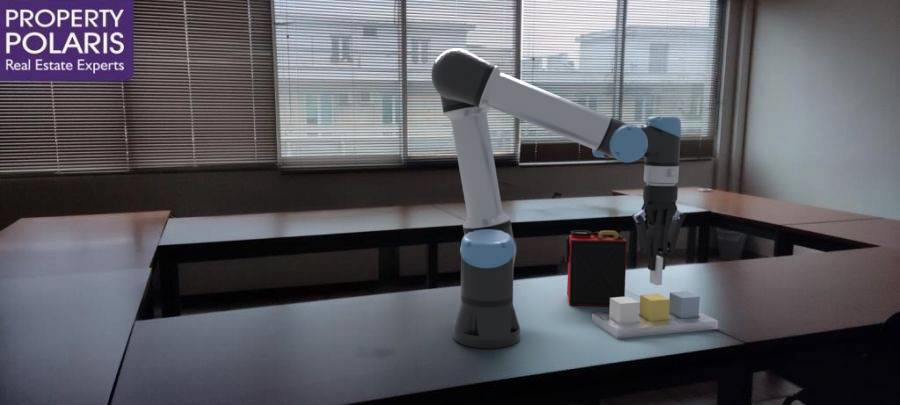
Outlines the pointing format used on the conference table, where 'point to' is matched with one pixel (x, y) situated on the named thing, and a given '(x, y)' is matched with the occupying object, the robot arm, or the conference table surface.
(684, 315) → the slate key
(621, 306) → the ivory key
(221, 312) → the conference table surface
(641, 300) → the mustard key
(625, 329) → the key panel
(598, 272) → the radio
